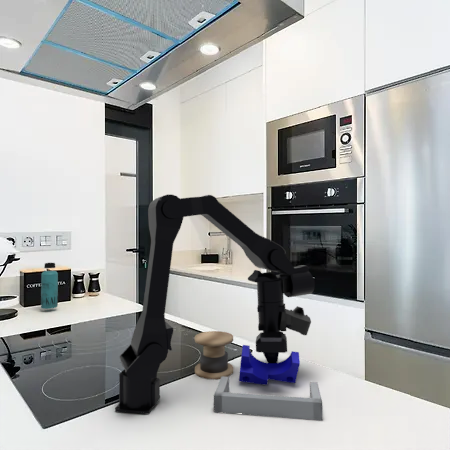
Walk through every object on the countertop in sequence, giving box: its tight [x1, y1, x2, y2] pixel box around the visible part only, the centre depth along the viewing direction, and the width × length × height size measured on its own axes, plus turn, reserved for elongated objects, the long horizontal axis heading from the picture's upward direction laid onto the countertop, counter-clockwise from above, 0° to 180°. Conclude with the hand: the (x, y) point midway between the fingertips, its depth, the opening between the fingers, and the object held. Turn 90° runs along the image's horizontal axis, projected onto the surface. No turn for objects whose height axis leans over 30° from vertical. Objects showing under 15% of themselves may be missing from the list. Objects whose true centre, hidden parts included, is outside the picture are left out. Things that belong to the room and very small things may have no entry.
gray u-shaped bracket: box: [213, 376, 324, 421], centre depth 67 cm, size 19×8×3 cm, turn 81°
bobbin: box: [194, 330, 234, 380], centre depth 83 cm, size 9×9×8 cm
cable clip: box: [238, 344, 301, 386], centre depth 76 cm, size 12×4×6 cm, turn 86°
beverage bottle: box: [40, 262, 59, 310], centre depth 148 cm, size 6×7×20 cm
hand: (273, 369), depth 79 cm, fingers closed
